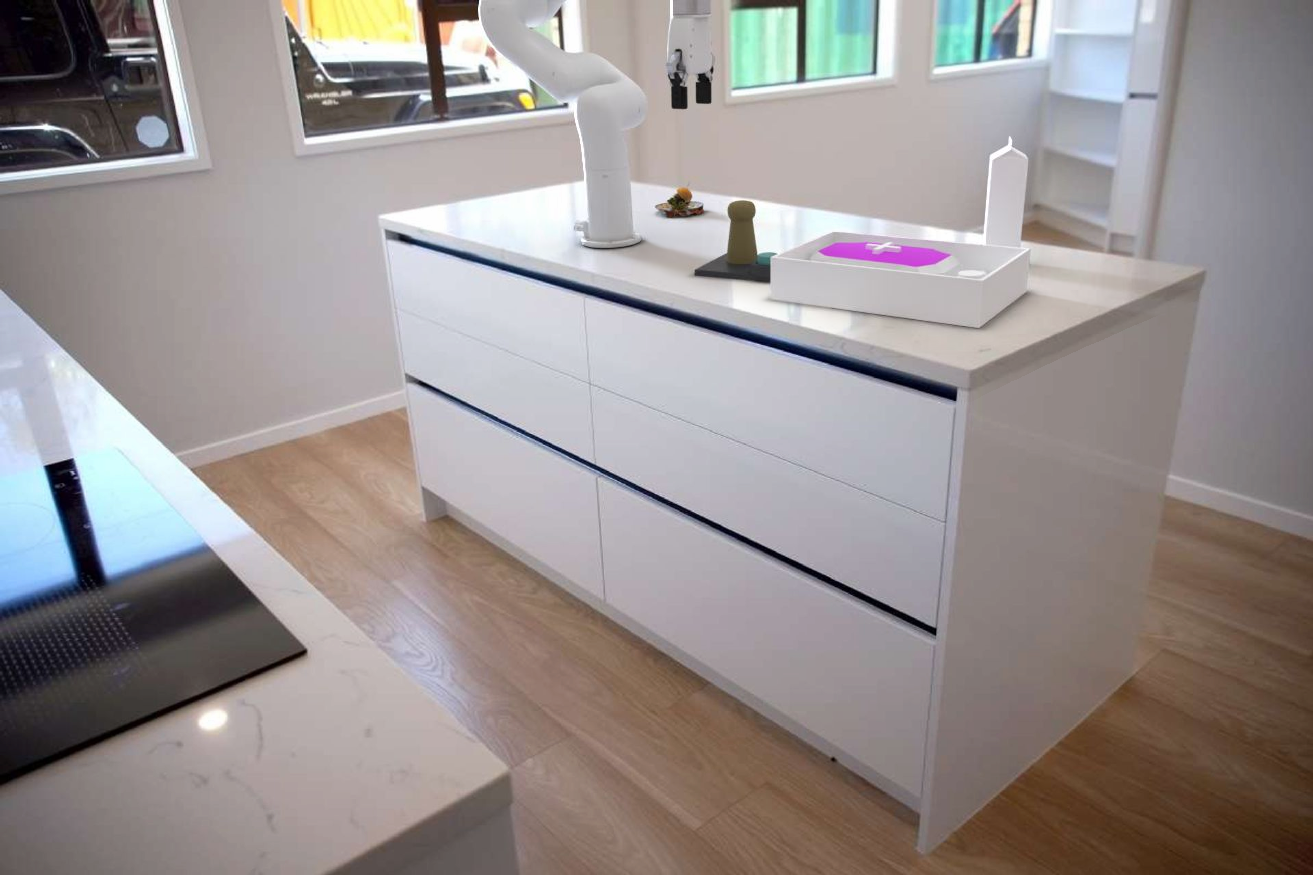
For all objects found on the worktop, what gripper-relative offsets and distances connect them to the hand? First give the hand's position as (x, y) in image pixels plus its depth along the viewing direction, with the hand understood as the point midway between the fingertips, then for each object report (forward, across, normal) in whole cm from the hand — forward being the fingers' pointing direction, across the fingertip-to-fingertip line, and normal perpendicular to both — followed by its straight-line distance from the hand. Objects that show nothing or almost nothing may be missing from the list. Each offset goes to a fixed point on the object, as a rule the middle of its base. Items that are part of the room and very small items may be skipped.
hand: (691, 106), depth 191 cm
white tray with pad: (+27, +19, +48) cm, 59 cm away
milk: (+26, -7, +59) cm, 65 cm away
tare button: (+25, +16, +24) cm, 38 cm away
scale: (+27, +12, +18) cm, 35 cm away
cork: (+26, +10, +16) cm, 32 cm away
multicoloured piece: (+28, -33, -22) cm, 49 cm away
